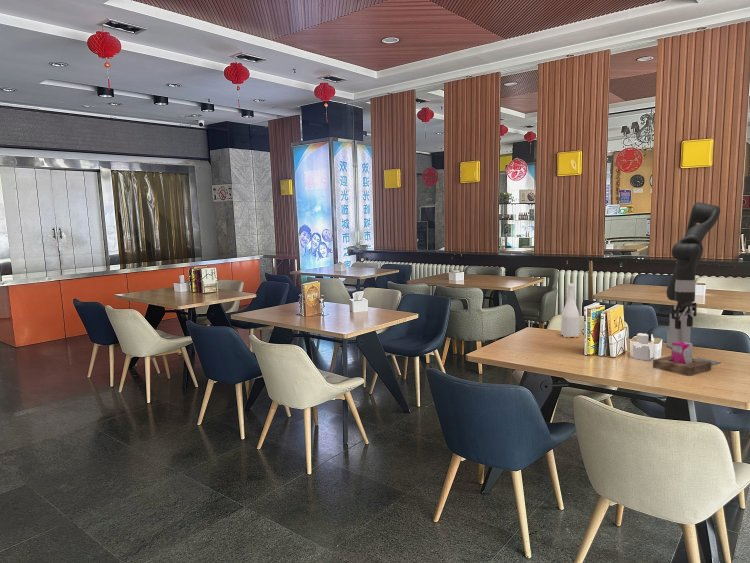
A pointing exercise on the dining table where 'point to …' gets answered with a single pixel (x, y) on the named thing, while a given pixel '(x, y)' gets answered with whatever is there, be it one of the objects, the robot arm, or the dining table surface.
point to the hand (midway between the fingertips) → (683, 327)
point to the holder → (682, 366)
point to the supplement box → (682, 352)
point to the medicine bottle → (644, 351)
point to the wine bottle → (570, 315)
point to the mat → (709, 361)
